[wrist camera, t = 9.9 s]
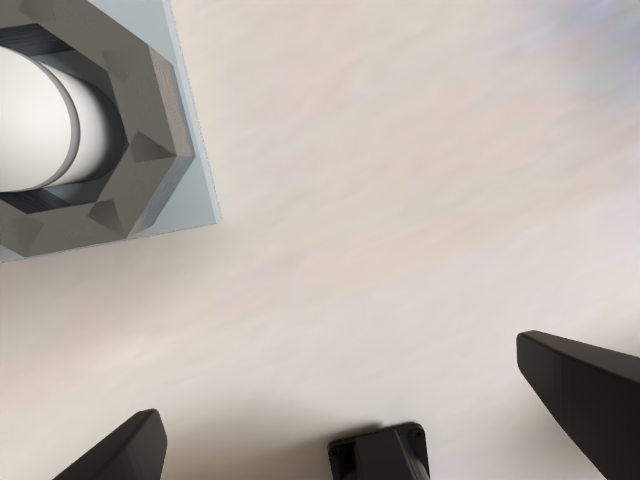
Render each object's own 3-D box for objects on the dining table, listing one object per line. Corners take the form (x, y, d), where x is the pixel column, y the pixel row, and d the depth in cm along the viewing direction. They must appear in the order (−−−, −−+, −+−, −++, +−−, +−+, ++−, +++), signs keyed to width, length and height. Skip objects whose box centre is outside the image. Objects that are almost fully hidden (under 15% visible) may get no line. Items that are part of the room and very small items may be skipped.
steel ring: (210, 214, 18) (195, 226, 15) (8, 252, 17) (-49, 271, 14) (155, -7, 15) (124, -46, 12) (-82, 28, 15) (-173, -4, 12)
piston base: (221, 218, 19) (190, 247, 13) (17, 256, 19) (-120, 304, 12) (168, -6, 17) (95, -106, 10) (-72, 30, 16) (-303, -53, 10)
